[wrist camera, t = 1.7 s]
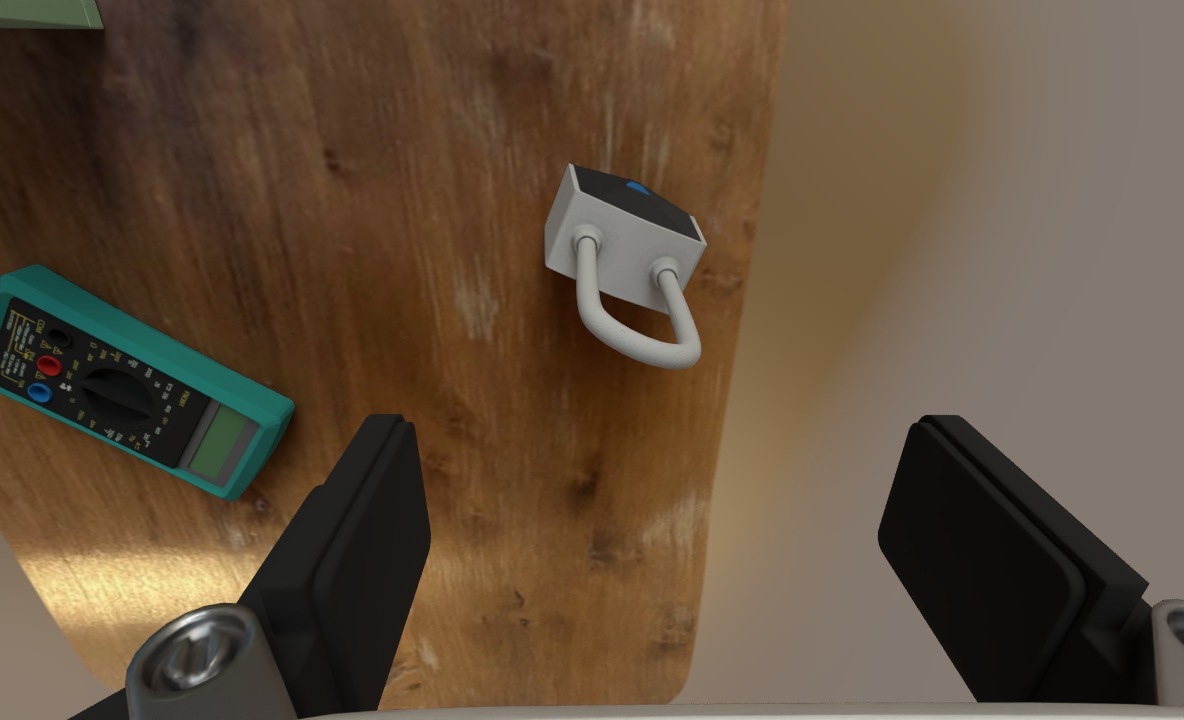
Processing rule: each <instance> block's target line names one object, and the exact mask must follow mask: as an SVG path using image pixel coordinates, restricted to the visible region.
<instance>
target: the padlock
mask: <svg viewBox="0 0 1184 720" xmlns="http://www.w3.org/2000/svg"><path fill="white" fill-rule="evenodd" d="M706 246H707V243H706V241H705V239H704V237H703V235H702V233H701V231H700V229H699V227H698V225H697V223H696V221H695V219H694V217H693V216H690V215H689V214H687V213H686V212H684V211H683V210H681V209H679V208H678V207H676V206H675V205H673V204H671V203H670V202H668V201H667V200H665V199H663V198H662V197H660V196H659V195H657V194H656V193H654V192H652V191H651V190H649V189H648V188H646V187H644V186H643V185H641V184H640V183H638V182H635V181H633V180H629V179H625V178H621V177H617V176H614V175H610V174H606V173H602V172H598V171H595V170H591V169H587V168H583V167H580V166H576V165H572V164H569V163H568V166H567V169H566V171H565V174H564V177H563V179H562V182H561V184H560V187H559V190H558V192H557V195H556V198H555V200H554V203H553V206H552V208H551V211H550V214H549V216H548V219H547V222H546V224H545V265H546V266H547V267H548V268H550V269H552V270H555V271H557V272H559V273H561V274H564V275H566V276H568V277H570V278H573V279H575V280H577V284H576V291H577V305H578V310H579V314H580V317H581V319H582V321H583V323H584V324H585V326H586V327H587V329H588V330H589V331H590V332H591V333H592V334H593V335H595V336H596V337H597V338H598V339H600V340H601V341H602V342H604V343H605V344H607V345H608V346H610V347H611V348H613V349H615V350H617V351H618V352H620V353H622V354H624V355H626V356H628V357H630V358H633V359H635V360H638V361H640V362H643V363H646V364H649V365H653V366H656V367H661V368H667V369H685V368H688V367H691V366H693V365H694V364H695V363H696V362H697V361H698V360H699V358H700V355H701V343H700V339H699V335H698V332H697V329H696V327H695V324H694V321H693V318H692V316H691V313H690V311H689V308H688V306H687V303H686V301H685V298H684V296H683V294H682V293H683V291H684V289H685V287H686V285H687V283H688V281H689V279H690V277H691V275H692V273H693V271H694V269H695V267H696V266H697V264H698V262H699V260H700V258H701V256H702V254H703V252H704V250H705V248H706ZM599 290H600V291H602V292H604V293H607V294H609V295H612V296H614V297H617V298H620V299H623V300H626V301H629V302H632V303H635V304H638V305H641V306H644V307H647V308H650V309H653V310H656V311H659V312H662V313H665V314H668V315H669V316H670V319H671V322H672V326H673V329H674V332H675V336H676V341H677V344H669V343H665V342H661V341H658V340H654V339H652V338H649V337H646V336H644V335H642V334H640V333H637V332H635V331H633V330H632V329H630V328H628V327H626V326H624V325H623V324H621V323H620V322H618V321H617V320H615V319H614V318H612V317H611V316H610V315H609V314H608V313H606V311H605V310H604V309H603V307H602V305H601V301H600V296H599Z"/></svg>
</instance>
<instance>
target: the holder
mask: <svg viewBox="0 0 1184 720" xmlns="http://www.w3.org/2000/svg"><path fill="white" fill-rule="evenodd" d="M0 28H30V29H104V27H103V24H102V21H101V18H100V15H99V12H98V9H97V6H96V3H95V0H0Z"/></svg>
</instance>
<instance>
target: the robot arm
mask: <svg viewBox="0 0 1184 720" xmlns="http://www.w3.org/2000/svg"><path fill="white" fill-rule="evenodd" d="M878 542H879V546H880V549H881V550H882V552H883V554H884V556H885V557H886V559H887V560H888V562H889V564H890V565H891V567H892V568H893V570H894V571H895V573H896V575H897V576H898V578H899V579H900V581H901V582H902V584H903V586H904V587H905V589H906V590H907V592H908V594H909V595H910V597H911V598H912V600H913V601H914V603H915V605H916V606H917V608H918V609H919V611H920V612H921V614H922V616H923V617H924V619H925V620H926V622H927V623H928V625H929V627H930V628H931V630H932V631H933V633H934V634H935V636H936V638H937V639H938V641H939V642H940V644H941V645H942V647H943V649H944V650H945V652H946V653H947V655H948V657H949V658H950V659H951V661H952V663H953V664H954V666H955V668H956V669H957V671H958V672H959V674H960V675H961V677H962V678H963V680H964V682H965V683H966V685H967V687H968V688H969V690H970V691H971V693H972V694H973V696H974V697H975V699H976V700H977V702H978V703H767V704H766V703H765V704H764V703H761V704H760V703H757V704H643V705H565V706H493V707H460V708H427V709H394V710H378V711H377V709H378V705H379V702H380V699H381V696H382V693H383V690H384V687H385V684H386V681H387V678H388V675H389V672H390V669H391V666H392V663H393V660H394V657H395V654H396V651H397V648H398V645H399V642H400V639H401V636H402V632H403V629H404V626H405V623H406V620H407V617H408V614H409V611H410V608H411V605H412V602H413V599H414V596H415V593H416V590H417V587H418V584H419V581H420V578H421V575H422V572H423V569H424V566H425V563H426V559H427V556H428V553H429V550H430V543H431V530H430V524H429V517H428V511H427V504H426V497H425V491H424V484H423V478H422V471H421V465H420V458H419V451H418V445H417V438H416V432H415V427H414V424H413V423H412V422H405V420H404V417H403V416H402V415H401V414H371V415H368V417H367V418H366V419H365V421H364V422H363V424H362V425H361V427H360V428H359V430H358V432H357V433H356V435H355V436H354V438H353V439H352V441H351V442H350V444H349V445H348V447H347V449H346V450H345V452H344V453H343V455H342V456H341V458H340V459H339V461H338V463H337V464H336V466H335V467H334V469H333V470H332V472H331V473H330V475H329V476H328V478H327V480H326V481H325V483H324V484H323V485H319V486H316V487H315V488H314V489H313V490H312V491H311V492H310V493H309V495H308V496H307V498H306V499H305V501H304V502H303V504H302V505H301V507H300V508H299V510H298V511H297V513H296V514H295V516H294V517H293V519H292V520H291V522H290V523H289V525H288V526H287V528H286V529H285V531H284V532H283V534H282V535H281V537H280V538H279V540H278V541H277V543H276V544H275V546H274V547H273V549H272V550H271V552H270V553H269V555H268V556H267V558H266V559H265V561H264V562H263V564H262V565H261V567H260V568H259V570H258V571H257V573H256V574H255V576H254V577H253V579H252V580H251V582H250V583H249V585H248V586H247V588H246V589H245V591H244V592H243V594H242V595H241V597H240V598H239V600H238V601H237V603H219V604H213V605H207V606H204V607H201V608H198V609H195V610H193V611H190V612H187V613H185V614H183V615H181V616H180V617H178V618H176V619H174V620H173V621H171V622H169V623H167V624H166V625H165V626H163V627H162V628H161V629H160V630H158V631H157V632H156V633H154V634H153V635H152V636H151V637H149V638H148V640H147V641H146V642H145V643H144V644H143V645H142V646H141V648H140V649H139V650H138V651H137V652H136V653H135V655H134V657H133V659H132V661H131V663H130V665H129V667H128V668H127V673H126V681H125V688H123V689H121V690H120V691H118V692H116V693H114V694H112V695H111V696H109V697H107V698H105V699H104V700H102V701H100V702H98V703H96V704H94V705H93V706H91V707H89V708H87V709H86V710H84V711H82V712H80V713H78V714H77V715H75V716H73V717H71V718H69V719H68V720H1184V600H1181V599H1170V600H1162V601H1160V602H1159V603H1157V604H1155V605H1154V606H1153V608H1152V607H1151V606H1150V605H1149V604H1147V603H1146V602H1145V601H1144V600H1143V599H1142V598H1141V597H1142V595H1143V593H1144V592H1145V590H1146V589H1147V587H1148V585H1149V583H1148V582H1147V581H1146V580H1145V579H1144V578H1143V577H1141V576H1140V575H1139V574H1138V573H1137V572H1136V571H1135V570H1134V569H1132V568H1131V567H1130V566H1129V565H1128V564H1127V563H1126V562H1125V561H1123V560H1122V559H1121V558H1120V557H1119V556H1118V555H1117V554H1116V553H1114V552H1113V551H1112V550H1111V549H1110V548H1109V547H1108V546H1107V545H1105V544H1104V543H1103V542H1102V541H1101V540H1100V539H1099V538H1098V537H1096V536H1095V535H1094V534H1093V533H1092V532H1091V531H1090V530H1089V529H1087V528H1086V527H1085V526H1084V525H1083V524H1082V523H1081V522H1079V521H1078V520H1077V519H1076V518H1075V517H1074V516H1073V515H1072V514H1070V513H1069V512H1068V511H1067V510H1066V509H1065V508H1064V507H1063V506H1061V505H1060V504H1059V503H1058V502H1057V501H1056V500H1055V499H1054V498H1052V497H1051V496H1050V495H1049V494H1048V493H1047V492H1046V491H1045V490H1043V489H1042V488H1041V487H1040V486H1039V485H1038V484H1037V483H1036V482H1034V481H1033V480H1032V479H1031V478H1030V477H1029V476H1028V475H1026V474H1025V473H1024V472H1023V471H1022V470H1021V469H1020V468H1019V467H1018V466H1016V465H1015V464H1014V463H1013V462H1012V461H1011V460H1010V459H1008V458H1007V457H1006V456H1005V455H1004V454H1003V453H1002V452H1001V451H999V450H998V449H997V448H996V447H995V446H994V445H993V444H992V443H990V442H989V441H988V440H987V439H986V438H985V437H984V436H982V435H981V434H980V433H979V432H978V431H977V430H976V429H975V428H973V427H972V426H971V425H970V424H969V423H968V422H967V421H966V420H964V419H963V418H962V417H960V416H958V415H925V416H923V417H921V419H920V420H919V422H918V423H914V424H912V425H911V427H910V429H909V432H908V435H907V438H906V441H905V445H904V448H903V451H902V455H901V458H900V461H899V465H898V468H897V471H896V474H895V478H894V481H893V484H892V487H891V491H890V494H889V497H888V500H887V504H886V507H885V510H884V514H883V517H882V520H881V523H880V527H879V530H878Z"/></svg>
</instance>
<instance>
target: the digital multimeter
mask: <svg viewBox="0 0 1184 720" xmlns="http://www.w3.org/2000/svg"><path fill="white" fill-rule="evenodd" d="M0 394H3V395H5V396H7V397H9V398H11V399H14V400H16V401H18V402H20V403H22V404H25V405H27V406H29V407H31V408H33V409H36V410H38V411H40V412H42V413H44V414H46V415H49V416H51V417H53V418H55V419H57V420H59V421H62V422H64V423H66V424H68V425H70V426H72V427H75V428H77V429H79V430H81V431H83V432H86V433H88V434H90V435H92V436H94V437H96V438H98V439H101V440H103V441H105V442H107V443H109V444H111V445H113V446H115V447H117V448H119V449H121V450H123V451H125V452H128V453H130V454H132V455H134V456H136V457H138V458H140V459H142V460H144V461H146V462H148V463H150V464H152V465H154V466H157V467H159V468H161V469H163V470H165V471H167V472H169V473H171V474H173V475H175V476H177V477H179V478H181V479H183V480H185V481H187V482H189V483H191V484H193V485H195V486H197V487H199V488H201V489H203V490H205V491H207V492H209V493H211V494H213V495H215V496H217V497H220V498H222V499H225V500H228V501H235V500H237V499H238V498H239V497H240V495H241V494H242V493H243V492H244V491H245V489H246V488H247V487H248V486H249V485H250V483H251V482H252V481H253V480H254V478H255V477H256V476H257V474H258V473H259V472H260V470H261V469H262V468H263V466H264V465H265V464H266V462H267V461H268V459H269V458H270V457H271V455H272V454H273V452H274V450H275V449H276V447H277V445H278V444H279V442H280V440H281V438H282V436H283V434H284V432H285V430H286V428H287V426H288V424H289V422H290V419H291V417H292V415H293V412H294V410H295V405H294V403H293V402H292V401H291V400H290V399H288V398H286V397H284V396H282V395H280V394H278V393H276V392H274V391H272V390H270V389H268V388H266V387H265V386H263V385H261V384H259V383H257V382H255V381H253V380H251V379H249V378H247V377H245V376H243V375H241V374H239V373H237V372H235V371H233V370H231V369H229V368H227V367H225V366H223V365H222V364H220V363H218V362H216V361H214V360H212V359H210V358H209V357H207V356H205V355H203V354H201V353H199V352H197V351H196V350H194V349H192V348H190V347H188V346H186V345H184V344H182V343H181V342H179V341H177V340H175V339H173V338H171V337H169V336H168V335H166V334H164V333H162V332H160V331H158V330H156V329H155V328H153V327H151V326H149V325H147V324H145V323H144V322H142V321H140V320H138V319H136V318H135V317H133V316H131V315H129V314H127V313H125V312H124V311H122V310H120V309H118V308H116V307H114V306H113V305H111V304H109V303H107V302H105V301H103V300H102V299H100V298H98V297H96V296H94V295H93V294H91V293H89V292H87V291H86V290H84V289H82V288H81V287H79V286H77V285H75V284H74V283H72V282H70V281H68V280H67V279H65V278H63V277H61V276H60V275H58V274H56V273H54V272H53V271H51V270H49V269H48V268H46V267H44V266H41V265H38V264H36V265H31V266H28V267H25V268H22V269H19V270H16V271H13V272H10V273H7V274H4V275H2V276H1V277H0Z"/></svg>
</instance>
